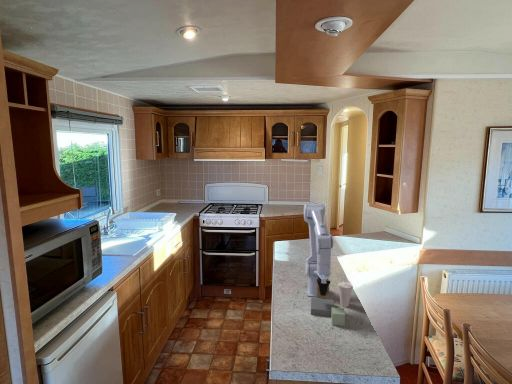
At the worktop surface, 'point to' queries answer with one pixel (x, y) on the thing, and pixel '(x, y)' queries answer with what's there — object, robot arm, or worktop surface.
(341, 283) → the smoothie
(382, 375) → the worktop surface
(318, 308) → the charcoal slab
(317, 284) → the walnut cube
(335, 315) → the sage block
